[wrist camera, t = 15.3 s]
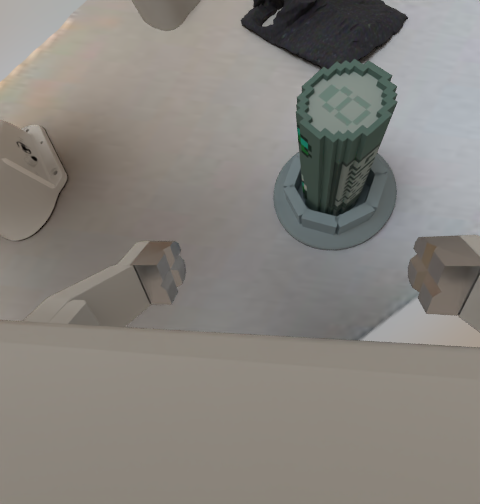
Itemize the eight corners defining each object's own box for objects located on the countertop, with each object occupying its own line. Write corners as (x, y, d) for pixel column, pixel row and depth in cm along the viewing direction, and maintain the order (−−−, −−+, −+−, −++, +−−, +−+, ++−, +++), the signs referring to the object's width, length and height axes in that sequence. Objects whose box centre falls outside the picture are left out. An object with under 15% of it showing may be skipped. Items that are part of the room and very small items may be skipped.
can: (331, 160, 33) (346, 46, 18) (369, 192, 31) (417, 91, 16) (294, 193, 33) (280, 106, 19) (329, 227, 31) (342, 158, 17)
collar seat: (257, 178, 36) (251, 162, 32) (355, 125, 34) (360, 102, 30) (304, 269, 32) (303, 264, 28) (419, 215, 30) (435, 202, 26)
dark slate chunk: (324, 99, 36) (326, 69, 32) (235, 24, 44) (226, -9, 39) (417, 22, 35) (432, -20, 31) (309, -42, 42) (309, -84, 38)
